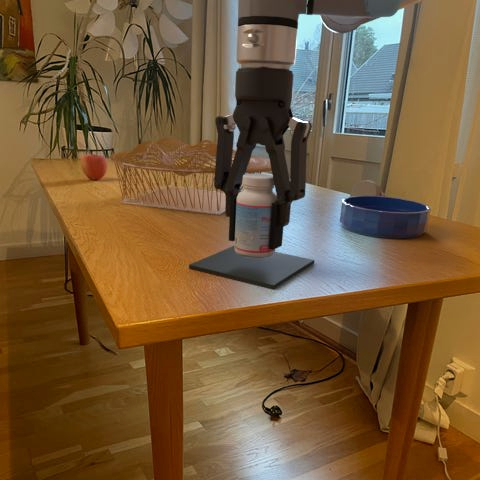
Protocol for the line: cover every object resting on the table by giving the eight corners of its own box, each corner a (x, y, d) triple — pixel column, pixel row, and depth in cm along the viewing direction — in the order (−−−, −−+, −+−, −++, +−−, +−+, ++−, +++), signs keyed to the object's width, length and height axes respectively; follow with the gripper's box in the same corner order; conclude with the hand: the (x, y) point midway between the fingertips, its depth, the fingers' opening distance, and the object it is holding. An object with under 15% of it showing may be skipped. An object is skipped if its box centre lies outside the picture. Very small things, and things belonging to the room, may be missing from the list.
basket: (251, 226, 95) (254, 153, 89) (80, 204, 106) (73, 138, 100) (291, 196, 126) (296, 141, 120) (156, 182, 137) (155, 131, 131)
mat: (314, 263, 75) (314, 259, 74) (273, 289, 64) (273, 285, 63) (237, 247, 81) (238, 243, 81) (188, 268, 70) (188, 264, 70)
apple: (76, 178, 137) (74, 149, 133) (98, 176, 142) (96, 148, 139) (91, 182, 133) (89, 152, 129) (113, 180, 138) (111, 150, 134)
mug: (393, 210, 117) (397, 176, 109) (366, 231, 114) (368, 197, 106) (369, 197, 121) (372, 164, 113) (343, 217, 118) (343, 184, 110)
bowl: (432, 227, 101) (437, 203, 99) (414, 244, 87) (420, 217, 85) (354, 214, 109) (357, 192, 107) (327, 229, 95) (330, 204, 93)
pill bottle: (267, 261, 68) (273, 180, 63) (228, 255, 70) (231, 176, 65) (279, 250, 73) (285, 175, 68) (242, 245, 75) (245, 171, 70)
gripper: (187, 64, 62) (188, 237, 72) (324, 66, 54) (303, 261, 63) (218, 69, 68) (215, 227, 78) (346, 70, 60) (324, 249, 69)
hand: (255, 242), depth 71 cm, fingers closed on pill bottle, 6 cm apart
